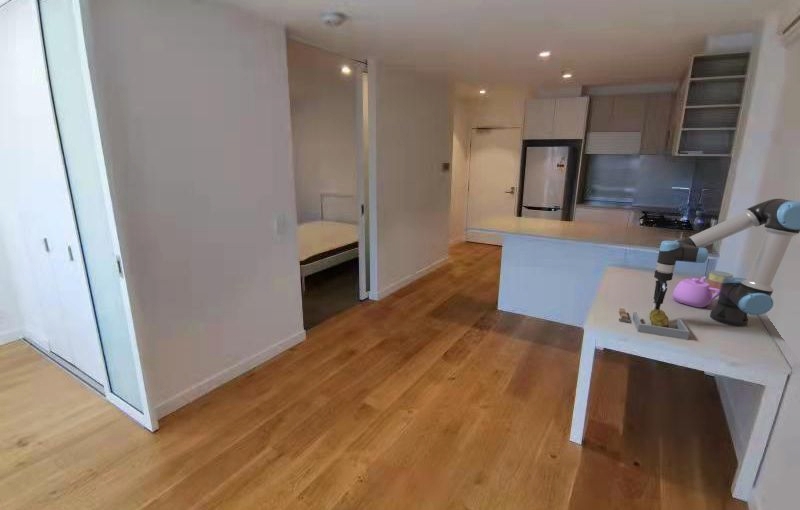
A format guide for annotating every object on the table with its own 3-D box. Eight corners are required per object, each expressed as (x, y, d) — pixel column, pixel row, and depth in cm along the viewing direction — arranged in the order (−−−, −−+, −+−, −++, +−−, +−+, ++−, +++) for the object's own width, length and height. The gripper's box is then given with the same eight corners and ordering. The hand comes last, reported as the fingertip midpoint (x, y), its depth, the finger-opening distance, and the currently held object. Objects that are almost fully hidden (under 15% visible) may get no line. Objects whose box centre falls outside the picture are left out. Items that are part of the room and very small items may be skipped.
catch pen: (678, 325, 190) (680, 318, 189) (688, 339, 176) (689, 332, 175) (632, 318, 198) (633, 311, 197) (637, 331, 183) (639, 324, 182)
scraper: (616, 311, 207) (617, 307, 206) (626, 313, 205) (627, 309, 204) (619, 321, 194) (620, 317, 194) (630, 323, 192) (631, 319, 192)
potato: (647, 329, 186) (650, 314, 184) (647, 320, 196) (650, 306, 194) (668, 333, 181) (671, 318, 179) (667, 324, 192) (670, 309, 190)
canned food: (719, 288, 243) (724, 271, 240) (733, 295, 233) (737, 276, 229) (701, 287, 245) (705, 270, 241) (713, 294, 234) (718, 275, 231)
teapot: (710, 313, 205) (717, 287, 201) (667, 301, 222) (672, 277, 218) (726, 304, 217) (732, 280, 213) (683, 293, 234) (689, 270, 230)
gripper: (652, 266, 196) (644, 308, 202) (658, 273, 184) (649, 317, 190) (669, 268, 193) (660, 310, 199) (676, 276, 181) (666, 320, 188)
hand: (655, 314), depth 195 cm, fingers closed
